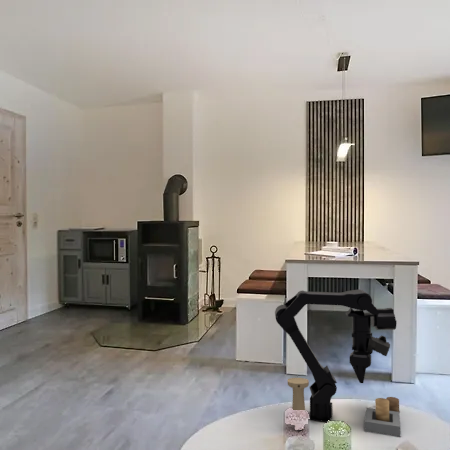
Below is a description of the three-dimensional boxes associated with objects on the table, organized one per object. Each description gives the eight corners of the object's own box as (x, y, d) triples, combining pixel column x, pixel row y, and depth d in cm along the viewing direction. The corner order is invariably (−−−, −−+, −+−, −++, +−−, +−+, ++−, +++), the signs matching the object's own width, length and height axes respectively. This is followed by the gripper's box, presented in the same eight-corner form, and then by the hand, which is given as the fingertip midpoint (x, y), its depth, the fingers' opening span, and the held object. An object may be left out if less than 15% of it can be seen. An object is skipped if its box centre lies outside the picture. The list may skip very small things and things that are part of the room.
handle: (310, 433, 128) (309, 383, 128) (289, 432, 129) (288, 383, 129) (308, 425, 133) (307, 377, 133) (288, 425, 134) (287, 377, 133)
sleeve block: (364, 431, 129) (364, 421, 129) (366, 416, 138) (366, 407, 138) (400, 436, 125) (400, 426, 125) (399, 421, 134) (399, 412, 134)
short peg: (386, 412, 140) (385, 400, 140) (386, 407, 144) (386, 396, 144) (399, 414, 139) (399, 402, 139) (399, 409, 143) (399, 397, 143)
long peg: (375, 428, 130) (375, 402, 130) (375, 422, 134) (375, 397, 134) (389, 430, 129) (389, 404, 129) (389, 424, 133) (389, 398, 133)
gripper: (388, 339, 125) (388, 392, 126) (388, 324, 143) (389, 370, 143) (348, 336, 129) (349, 387, 130) (353, 322, 147) (354, 367, 147)
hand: (362, 377), depth 137 cm, fingers open, 9 cm apart
